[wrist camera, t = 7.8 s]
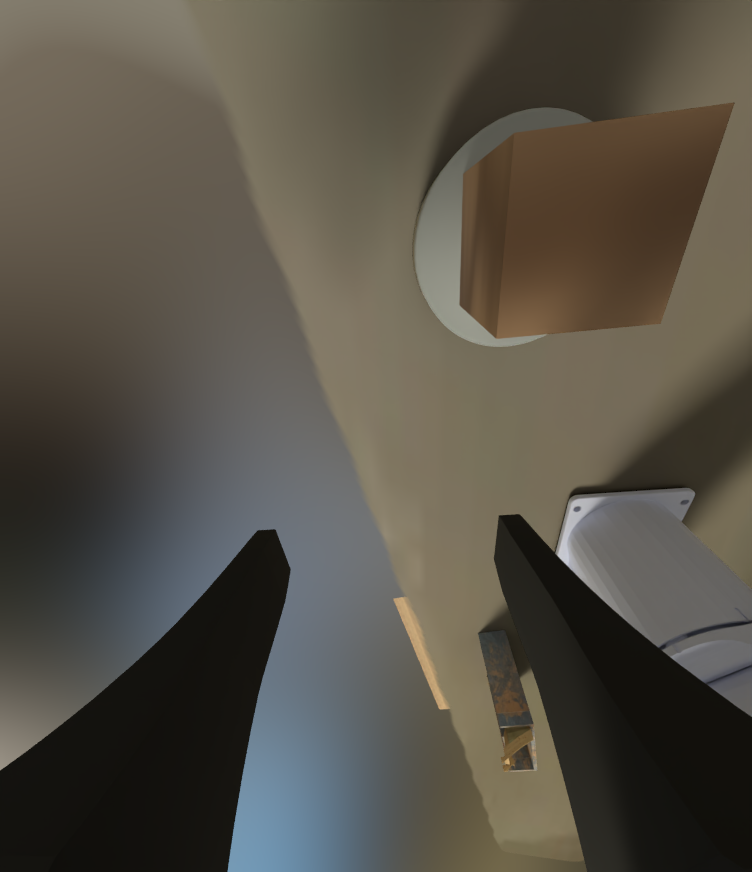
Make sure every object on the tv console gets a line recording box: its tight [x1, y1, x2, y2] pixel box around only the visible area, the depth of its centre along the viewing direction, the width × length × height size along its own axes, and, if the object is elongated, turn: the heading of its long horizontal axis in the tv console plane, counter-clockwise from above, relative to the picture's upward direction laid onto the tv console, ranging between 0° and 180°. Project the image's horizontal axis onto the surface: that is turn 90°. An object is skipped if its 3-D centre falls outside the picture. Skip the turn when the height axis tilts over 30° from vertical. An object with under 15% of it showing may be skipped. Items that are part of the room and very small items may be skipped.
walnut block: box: [459, 103, 734, 339], centre depth 11 cm, size 4×4×6 cm
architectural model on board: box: [393, 597, 537, 772], centre depth 31 cm, size 11×3×10 cm, turn 16°
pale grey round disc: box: [412, 107, 592, 347], centre depth 14 cm, size 8×8×3 cm
